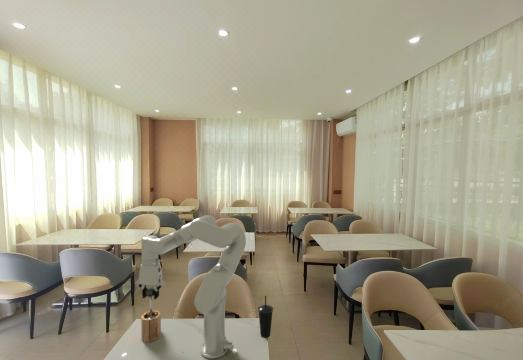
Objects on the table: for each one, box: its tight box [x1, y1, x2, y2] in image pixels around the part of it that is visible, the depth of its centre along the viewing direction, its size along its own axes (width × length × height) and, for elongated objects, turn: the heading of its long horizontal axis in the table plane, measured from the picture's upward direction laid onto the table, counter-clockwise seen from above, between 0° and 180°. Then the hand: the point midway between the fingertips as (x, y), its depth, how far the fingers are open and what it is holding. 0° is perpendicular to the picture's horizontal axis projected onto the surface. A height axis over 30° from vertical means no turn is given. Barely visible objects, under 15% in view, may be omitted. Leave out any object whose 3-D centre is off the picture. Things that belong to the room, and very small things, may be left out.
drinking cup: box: [257, 295, 274, 339], centre depth 131 cm, size 8×8×20 cm
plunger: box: [146, 286, 156, 319], centre depth 129 cm, size 5×5×15 cm
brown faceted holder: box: [140, 309, 162, 343], centre depth 130 cm, size 9×10×11 cm
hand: (150, 297), depth 129 cm, fingers open, 5 cm apart
